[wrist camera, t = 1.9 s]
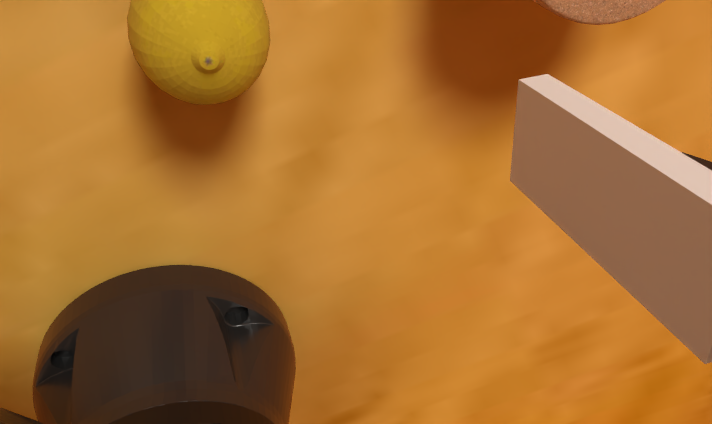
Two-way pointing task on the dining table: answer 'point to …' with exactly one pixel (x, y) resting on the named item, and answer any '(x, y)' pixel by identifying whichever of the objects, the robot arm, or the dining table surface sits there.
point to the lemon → (200, 46)
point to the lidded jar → (598, 9)
